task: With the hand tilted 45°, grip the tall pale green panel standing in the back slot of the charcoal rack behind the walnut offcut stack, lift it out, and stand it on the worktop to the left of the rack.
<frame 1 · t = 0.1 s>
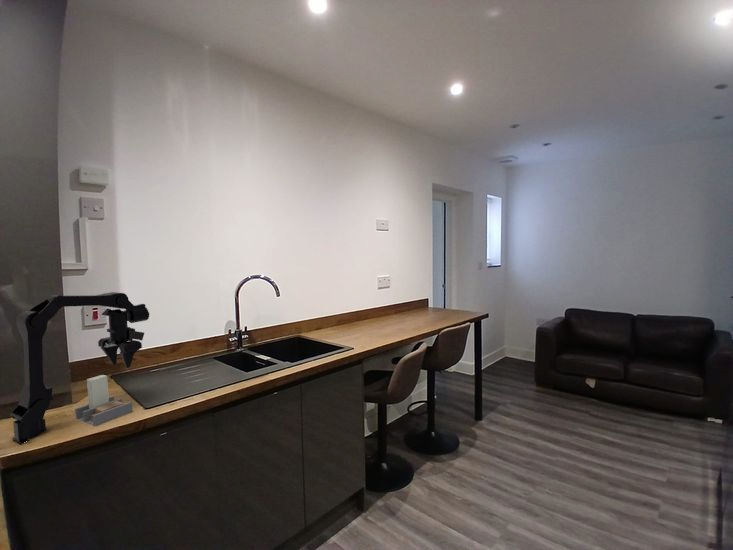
hand: (121, 365, 140), 14 cm above the worktop, tool pointing down, fingers open, 9 cm apart
offcuts: (108, 416, 128), point 1 cm above the worktop, touching rack
pale upright slab: (99, 413, 131), point 1 cm above the worktop, touching rack
rack: (104, 416, 129), on the worktop
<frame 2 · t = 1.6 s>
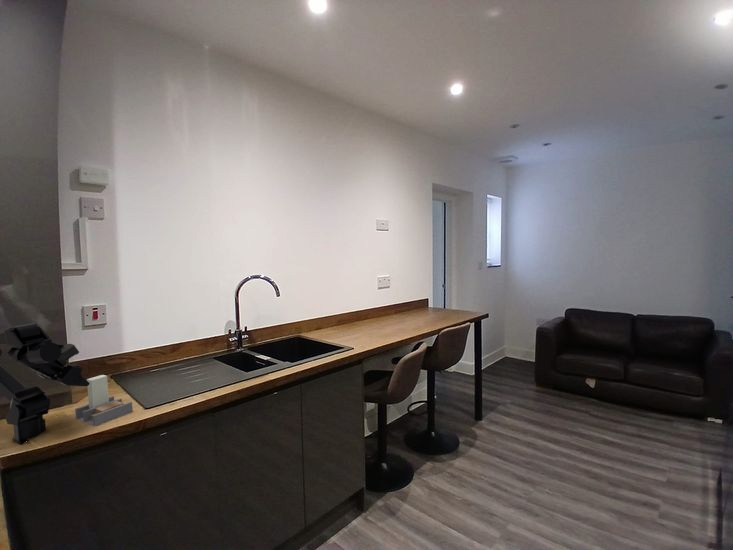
hand: (81, 382, 126), 13 cm above the worktop, tool tilted 45°, fingers open, 9 cm apart
nothing on the worktop moved.
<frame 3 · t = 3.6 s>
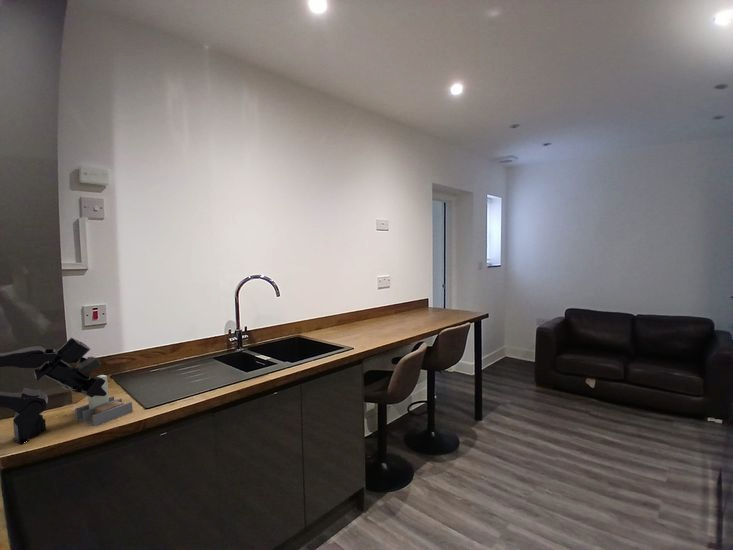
hand: (102, 393, 132), 7 cm above the worktop, tool tilted 45°, fingers open, 4 cm apart
pale upright slab: (99, 413, 131), point 1 cm above the worktop, touching gripper, rack
everything else where it was.
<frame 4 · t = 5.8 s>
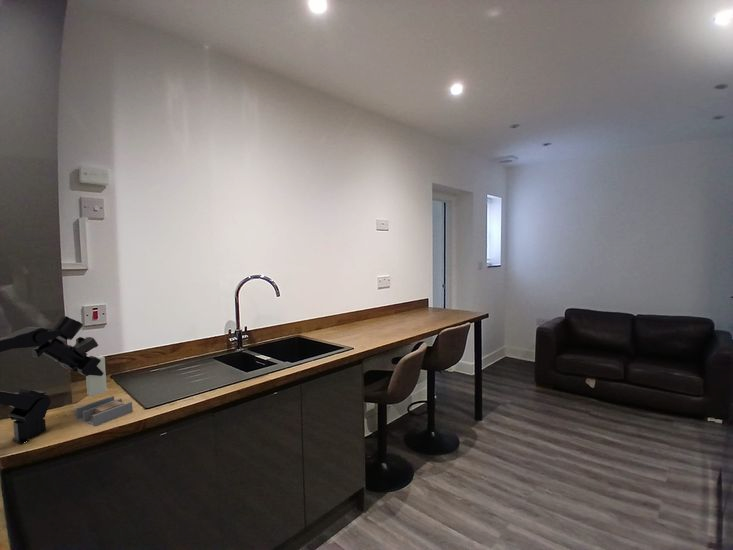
hand: (100, 373, 134), 14 cm above the worktop, tool tilted 45°, fingers closed on pale upright slab, 3 cm apart
pale upright slab: (97, 393, 133), point 7 cm above the worktop, touching gripper
everything else where it was.
when the fingers open (8 cm above the worktop, at t = 7.7 s): pale upright slab drops 1 cm, on the worktop.
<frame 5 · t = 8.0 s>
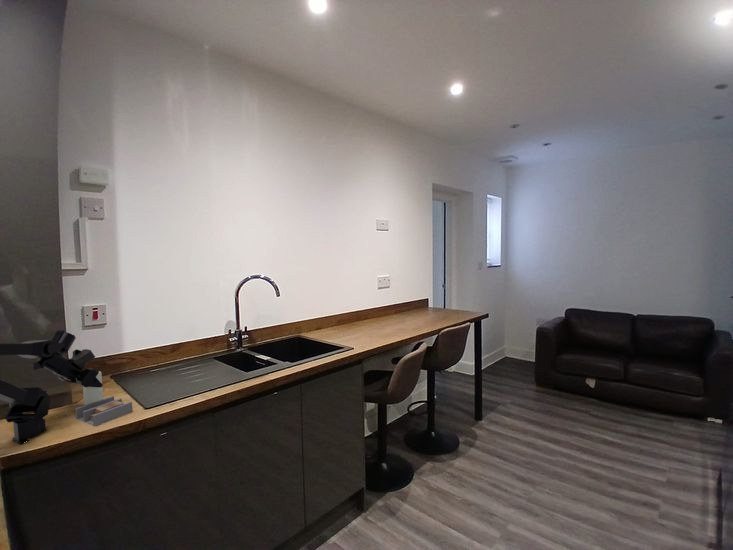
hand: (96, 384, 138), 8 cm above the worktop, tool tilted 45°, fingers open, 7 cm apart
pale upright slab: (94, 407, 137), on the worktop
everything else where it was.
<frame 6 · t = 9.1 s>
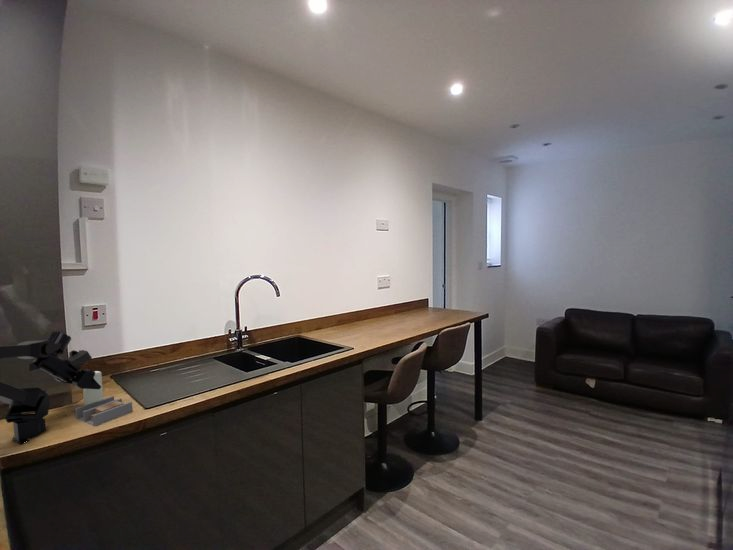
hand: (93, 385, 137), 8 cm above the worktop, tool tilted 45°, fingers open, 9 cm apart
nothing on the worktop moved.
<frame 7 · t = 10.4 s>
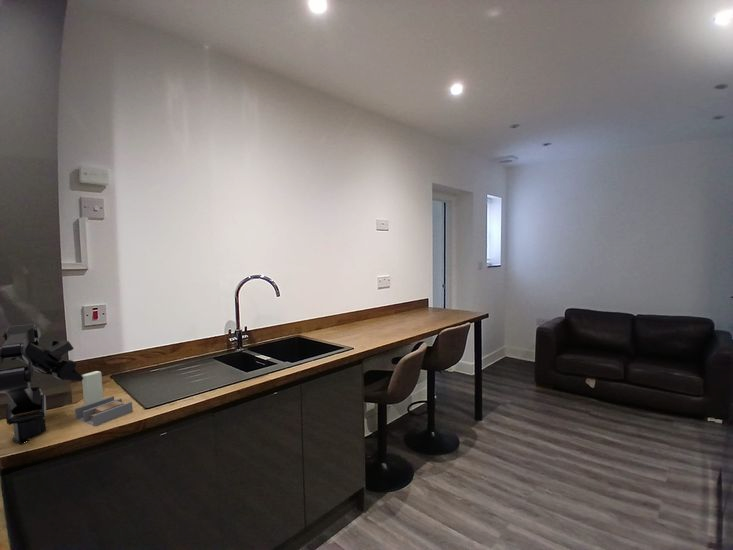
hand: (75, 377, 132), 13 cm above the worktop, tool tilted 45°, fingers open, 9 cm apart
nothing on the worktop moved.
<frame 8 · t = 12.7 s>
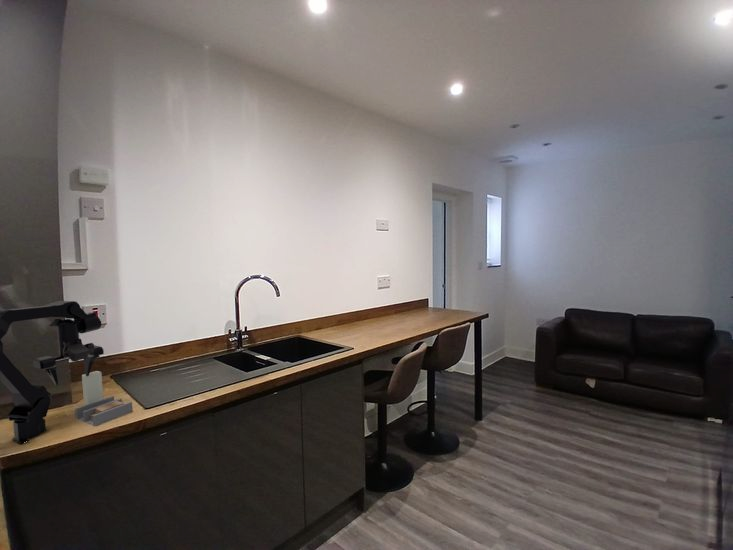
hand: (72, 380, 129), 13 cm above the worktop, tool pointing down, fingers open, 9 cm apart
nothing on the worktop moved.
at the end: pale upright slab 0.1 cm from the target spot, on the worktop; pale upright slab tilted 0°; the gripper is holding nothing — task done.
